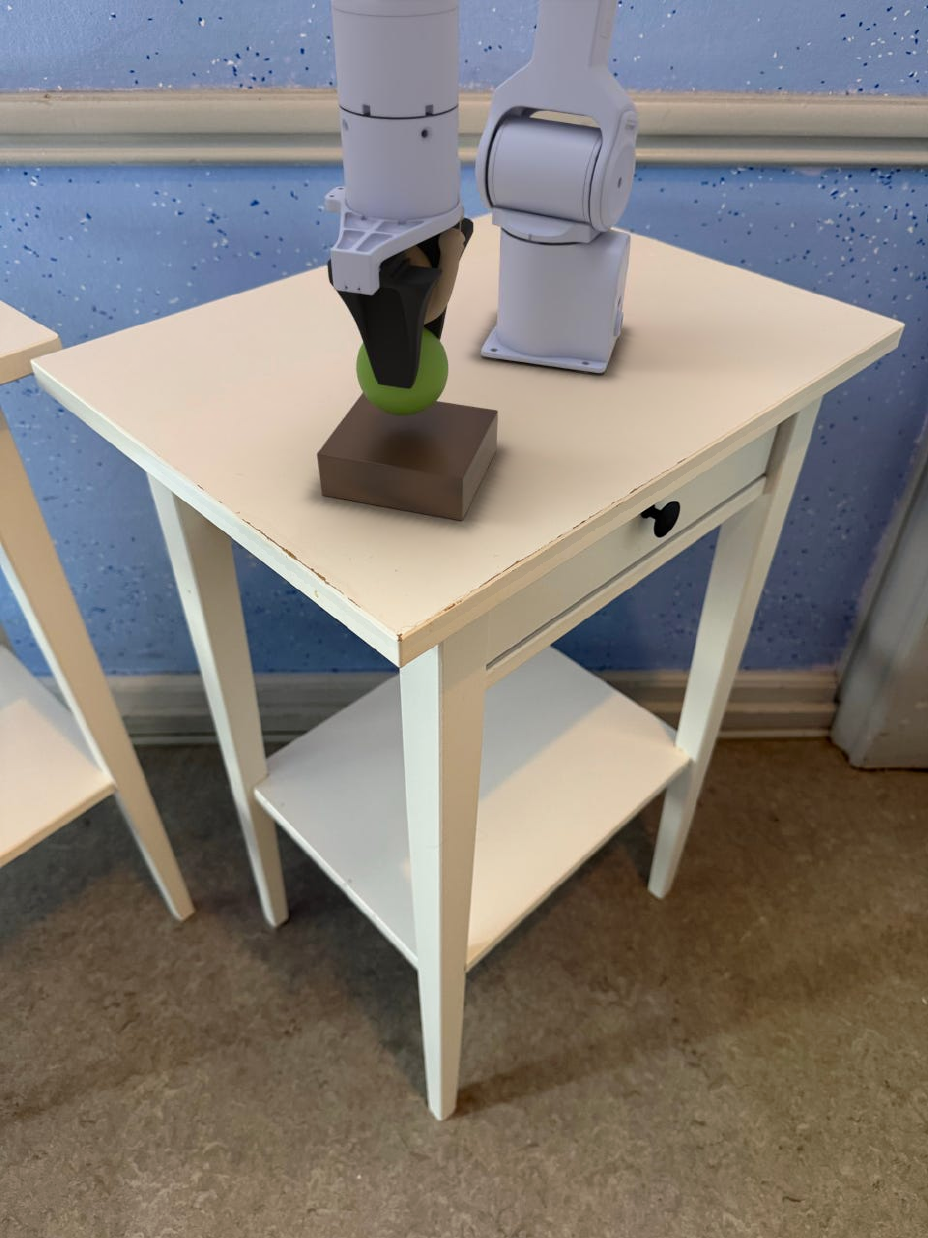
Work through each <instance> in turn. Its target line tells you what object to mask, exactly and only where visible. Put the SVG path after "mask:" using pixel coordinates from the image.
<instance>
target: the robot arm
mask: <svg viewBox="0 0 928 1238" xmlns="http://www.w3.org/2000/svg"><path fill="white" fill-rule="evenodd" d="M330 5H331V7H330V8H331V19H332V33H333V47H334V60H335V73H336V87H337V102H338V112H339V114H338V115H339V126H340V135H341V136H340V138H341V139H340V140H341V152H342V153H341V154H342V164H343V165H342V166H343V176H344V179H343V180H344V185H342V186H341V185H340V186H336V187H334V188H332V190H330V191H329V192H328V193H327V194H326V195H325V196H324V207H325V208H324V209H325V210H326V211H327V212H330V213H336V214H340V223H339V232H338V238H337V241H336V242H335V244H334V245H333V247H331V248H330V249H329V253H330V258H329V260H328V261H327V263H326V264H327V265H326V267H327V276H328V277H327V278H328V282H329V284H330V285H331V286H332V288H333V290H334V291H335V292H336V293H337V294H338V295H339V297H340V299H341V300H342V301H343V303H344V304H345V306H346V308H347V309H348V311H349V313H350V315H351V317H352V318H353V321H354V322H355V325H356V328H357V329H358V332H359V334H360V337H361V340H362V343H364V346H365V349H366V352H367V355H368V358H369V361H370V364H371V367H372V370H373V373H374V376H375V379H376V381H377V383H378V384H380V385H386V386H393V387H399V388H406V389H410V388H412V386H413V385H414V383H415V380H416V377H417V373H418V368H419V361H420V352H421V342H422V332H423V326H424V327H425V328H427V329H428V330H429V331H431V332H432V333H433V334H434V335H435V336H436V337H437V339H439V340H440V341H441V339H442V335H443V331H444V330H443V329H444V325H445V319H446V314H447V309H448V305H449V303H448V304H447V306H446V307H445V309H444V311H443V312H442V313H441V314H440V315H439V316H438V317H437V318H436V319H434V320H433V321H431V322H429V323H427V324H424V321H425V316H426V312H427V308H428V304H429V301H430V298H431V296H432V293H433V290H434V288H435V286H436V283H437V281H438V279H439V277H440V275H441V273H442V271H443V270H442V269H438V265H439V260H440V254H441V252H440V248H439V243H438V242H439V237H440V235H441V233H442V232H443V231H445V230H447V229H449V228H455V229H458V230H459V226H460V222H459V221H460V219H461V217H462V205H463V199H462V192H461V190H462V187H461V185H462V184H461V183H462V181H461V180H462V176H461V175H462V173H461V172H462V170H461V169H462V161H461V159H459V125H460V123H459V122H460V120H459V118H460V116H459V115H460V114H459V113H460V109H459V108H460V103H459V101H460V97H459V95H460V0H330ZM618 5H619V0H539V6H538V14H537V20H536V27H535V34H534V39H533V40H534V41H533V47H532V55H531V59H530V61H528V62H527V63H526V64H525V65H524V66H522V67H521V68H520V69H519V70H517V71H516V72H515V73H513V74H512V75H511V76H510V77H508V78H507V79H506V80H504V81H503V82H502V83H501V84H500V85H498V86H496V87H495V89H494V91H492V98H491V101H490V106H489V112H488V116H487V121H486V124H485V128H484V131H483V132H482V135H481V138H480V140H479V143H478V146H477V151H476V157H475V168H474V176H475V177H474V178H475V185H476V191H477V193H478V196H479V198H480V201H481V203H482V204H483V205H482V206H484V207H485V209H487V210H489V211H491V224H492V225H493V226H496V227H500V235H499V262H498V289H497V313H496V314H497V315H496V317H497V319H496V323H495V326H493V329H492V330H491V332H490V334H489V335H488V337H487V339H486V340H485V342H484V344H483V346H482V347H481V351H480V355H481V356H483V357H486V358H492V359H498V360H506V361H512V362H513V361H514V362H521V363H526V364H534V365H539V366H540V365H541V366H548V367H554V368H562V369H566V370H567V369H569V370H575V371H581V372H589V373H594V374H595V373H596V374H602V373H605V371H606V370H607V367H608V365H609V362H610V360H611V357H612V354H613V351H614V348H615V345H616V344H617V340H618V338H619V337H620V335H621V332H622V327H623V321H624V311H623V307H624V299H625V292H626V286H627V285H626V284H627V277H628V268H629V263H630V253H631V234H629V233H627V232H623V231H618V230H615V229H612V228H613V226H615V225H616V224H617V223H618V222H619V221H620V220H621V218H622V216H623V214H624V212H625V210H626V208H627V206H628V202H629V200H630V197H631V192H632V190H633V189H632V188H633V184H634V180H635V171H636V165H637V164H636V162H637V159H636V158H637V155H636V146H637V138H638V131H639V124H640V120H639V115H640V114H639V112H638V109H637V107H636V104H635V103H634V101H633V100H632V98H631V97H630V96H629V94H628V93H627V92H626V91H625V90H624V88H623V87H622V85H620V83H619V82H618V81H617V80H616V78H615V77H614V76H613V75H612V73H611V72H610V70H609V68H608V63H609V62H608V61H609V56H610V50H611V44H612V39H613V35H614V34H613V33H614V29H615V23H616V17H617V11H618ZM538 112H553V113H558V114H559V113H560V114H566V115H567V114H568V115H573V116H580V117H586V118H589V119H592V120H593V121H594V122H595V123H596V124H597V125H598V127H597V126H591V125H584V124H580V123H579V124H577V123H571V122H565V121H557V120H551V119H544V118H537V117H532V116H533V115H535V114H536V113H538ZM474 225H475V223H474V221H473V220H472V219H470V218H469V217H465V216H464V218H463V220H461V232H462V233H463V235H464V237H465V241H464V243H463V245H464V249H463V251H462V253H461V256H460V261H459V263H460V262H461V260H462V257H463V255H464V252H465V250H466V248H467V246H468V244H469V242H470V240H471V238H472V236H473V233H474ZM414 245H416V246H417V247H419V248H420V249H421V250H422V251H423V253H424V254H425V255H426V256H427V258H428V260H429V262H430V263H431V266H432V268H430V267H422V266H414V265H411V259H410V258H407V259H405V250H406V249H408V248H410V247H412V246H414Z"/></svg>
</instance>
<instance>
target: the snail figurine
mask: <svg viewBox="0 0 928 1238" xmlns="http://www.w3.org/2000/svg"><path fill="white" fill-rule="evenodd" d="M464 217H465V207H464V205H463V204H462V217H461V219H460V221H459V222H460V226H459V230H458V229H455V228H449V229H447V230H445V231H443V232H442V233H441V235H440V237H439V242H438V243H439V248H440V252H441V254H440V260H439V265H438V269H442V270H443V271H442V273H441V275H440V277H439V279H438V281H437V283H436V286H435V288H434V290H433V293H432V296H431V298H430V301H429V304H428V308H427V312H426V316H425V321H424V324H427V323H429V322H431V321H433V320H434V319H436V318H437V317H438V316H439V315H440V314H441V313H442V312H443V311H444V309H445V307H446V306H447V307H448V305H449V303H450V302H449V301H450V299H451V297H452V295H453V291H454V289H455V285H456V281H457V275H458V272H459V269H460V268H459V267H460V262H461V259H460V256H461V253H462V251H463V249H464V245H463V243H464V241H465V237H464V235H463V233H462V232H461V220H463V218H464ZM407 258H410V259H411V265H414V266H422V267H430V268H432V266H431V263H430V262H429V260H428V258H427V256H426V255H425V254H424V253H423V251H422V250H421V249H420V248H419V247H417V246H416V245H414V246H412V247H410V248H408V249H406V250H405V259H407ZM459 261H460V262H459ZM447 304H448V305H447ZM355 363H356V364H355V370H356V371H355V372H356V378H357V380H358V385H359V387H360V390H361V391H362V393H364V394H365V396H366V397H367V398H368V400H369V401H370V402H371V403H372V404H373V405H375V406H376V407H377V408H379V409H381V410H382V411H384V412H387V413H390V414H393V415H400V416H406V415H413V414H417V413H419V412H422V411H424V410H426V409H427V408H429V407H430V406H431V405H432V404H434V403H435V402H436V401H438V399H439V398H440V397H441V395H442V394H443V392H444V390H445V388H446V386H447V382H448V379H449V378H448V377H449V360H448V355H447V352H446V350H445V347H444V345H443V344H442V342H441V339H440V340H439V339H437V337H436V336H435V335H434V334H433V333H432V332H431V331H429V330H428V329H427V328H425V327H424V326H423V332H422V342H421V352H420V361H419V368H418V373H417V377H416V380H415V383H414V385H413V386H412V388H410V389H406V388H399V387H393V386H386V385H380V384H378V383H377V381H376V379H375V376H374V373H373V370H372V367H371V364H370V361H369V358H368V355H367V352H366V349H365V346H364V343H363V342H362V343H361V345H360V347H359V349H358V353H357V357H356V362H355Z"/></svg>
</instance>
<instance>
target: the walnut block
mask: <svg viewBox="0 0 928 1238" xmlns="http://www.w3.org/2000/svg"><path fill="white" fill-rule="evenodd" d="M498 416H499V411H498V410H497V409H491V408H490V409H489V408H483V407H478V406H472V405H471V406H470V405H465V404H459V403H452V402H445V401H440V400H437V401H436V402H435V403H434V404H432V405H431V406H430V407H429V408H427V409H426V410H424V411H422V412H419V413H417V414H413V415H406V416H400V415H393V414H390V413H387V412H384V411H382V410H381V409H379V408H377V407H376V406H375V405H373V404H372V403H371V402H370V401H369V400H368V398H367V397H366V396H365V394H364V393H363V392H362V393H361V394H360V396H358V399H356V401H355V402H354V403H353V405H352V406H351V408H350V409H349V410H348V411H347V413H346V414H345V416H344V417H343V418H342V419H341V421H340V422H339V424H338V425H337V426H336V428H335V429H334V430H333V432H332V433H331V434H330V435H329V437H328V438H327V440H325V442H324V443H323V445H322V446H321V447H320V449H319V450H318V451H317V453H316V458H317V467H318V473H319V474H318V476H319V483H320V492H321V495H322V496H326V497H332V498H335V499H343V500H347V501H348V500H349V501H353V502H358V503H365V504H370V505H375V506H380V507H386V508H391V509H396V510H403V511H406V512H407V511H408V512H413V513H418V514H425V515H429V516H434V517H440V518H445V519H446V518H447V519H451V520H457V521H463V520H464V518H465V515H466V513H467V512H468V510H469V507H470V506H471V503H472V501H473V499H474V497H475V495H476V493H477V491H478V489H479V487H480V485H481V482H482V481H483V478H484V477H485V474H486V472H487V470H488V469H489V466H490V465H491V462H492V460H493V458H494V456H495V455H496V452H497V445H498V422H499V421H498V418H499V417H498Z"/></svg>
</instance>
